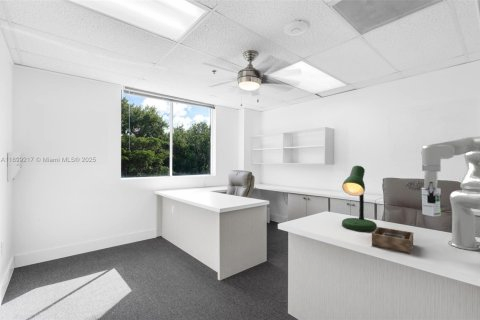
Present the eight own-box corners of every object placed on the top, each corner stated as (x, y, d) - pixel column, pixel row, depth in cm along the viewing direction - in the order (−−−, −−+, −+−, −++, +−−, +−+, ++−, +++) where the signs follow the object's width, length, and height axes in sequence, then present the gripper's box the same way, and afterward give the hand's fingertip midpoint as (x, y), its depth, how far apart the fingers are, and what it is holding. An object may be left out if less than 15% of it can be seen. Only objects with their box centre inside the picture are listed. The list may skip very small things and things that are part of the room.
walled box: (413, 244, 134) (413, 232, 134) (410, 254, 120) (410, 240, 120) (377, 237, 146) (377, 226, 146) (371, 245, 132) (371, 233, 132)
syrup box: (433, 216, 119) (433, 188, 119) (421, 214, 124) (421, 187, 124) (441, 215, 120) (441, 187, 120) (429, 213, 126) (429, 186, 126)
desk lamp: (369, 237, 147) (369, 166, 147) (333, 230, 162) (333, 165, 162) (379, 226, 170) (379, 165, 170) (347, 221, 185) (347, 165, 185)
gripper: (422, 167, 131) (423, 199, 131) (421, 169, 118) (421, 203, 118) (440, 168, 127) (440, 200, 127) (440, 169, 113) (441, 205, 113)
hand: (431, 201), depth 122 cm, fingers closed on syrup box, 7 cm apart
